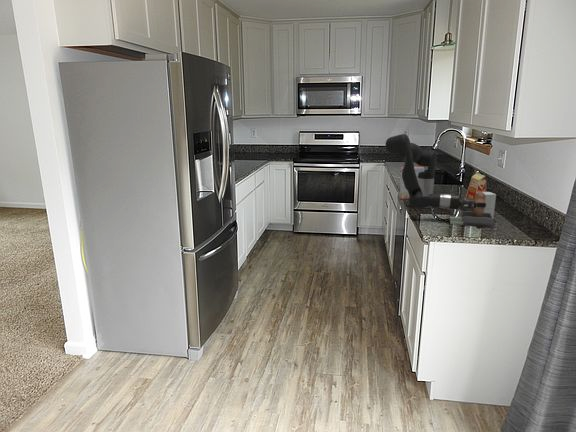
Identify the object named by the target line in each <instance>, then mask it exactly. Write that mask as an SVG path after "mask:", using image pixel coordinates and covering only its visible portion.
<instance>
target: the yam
mask: <svg viewBox="0 0 576 432" xmlns="http://www.w3.org/2000/svg"><path fill="white" fill-rule="evenodd" d="M485 199H486V195H485V194H484V193H483V192H478V193H476V195H475V199H474V202H479V203H485ZM472 209H473V210H472V212H473V215H472V217H483V214H484V207H476V208H472Z"/></svg>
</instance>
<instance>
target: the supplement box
mask: <svg viewBox="0 0 576 432" xmlns="http://www.w3.org/2000/svg"><path fill="white" fill-rule="evenodd" d="M477 193H478V192H477ZM483 193H484V194H485V195H486V199H485V203H486V207H485V208H484V213H492V215H493V216H494V215H495V208H496V201H497V200H496V199H497V194H496V193H493V192H490V191H486V192H483Z"/></svg>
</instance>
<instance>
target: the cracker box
mask: <svg viewBox="0 0 576 432" xmlns="http://www.w3.org/2000/svg"><path fill="white" fill-rule="evenodd" d="M403 168H404V166H401V167H400V177H399V178H400V180H399V181H400V182H399V184H400V185H399V196H398V197H399V200H401V201H402V200H407V201H409V193H408V190H406V188H405V185H404V182H403V179H402V171H403ZM414 169H415V173H416V176H417V180H418V173H420V172H424V171H426V170H425V166H414Z"/></svg>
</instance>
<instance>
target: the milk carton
mask: <svg viewBox="0 0 576 432" xmlns="http://www.w3.org/2000/svg"><path fill="white" fill-rule="evenodd" d="M477 192H487V180H486V175H484V174H481V173H480V172H477V171H475V174H473V175H472V176H471V179H470V182H469V186H468V187H467V192H466V196H465V198H471V199H475V195H476V193H477ZM473 206H474V205H473Z"/></svg>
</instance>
